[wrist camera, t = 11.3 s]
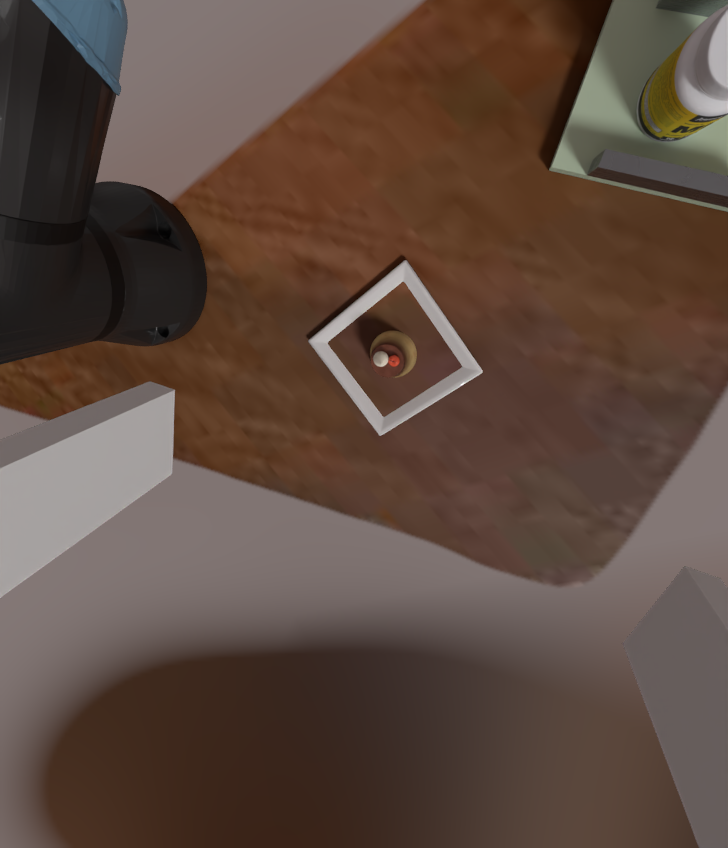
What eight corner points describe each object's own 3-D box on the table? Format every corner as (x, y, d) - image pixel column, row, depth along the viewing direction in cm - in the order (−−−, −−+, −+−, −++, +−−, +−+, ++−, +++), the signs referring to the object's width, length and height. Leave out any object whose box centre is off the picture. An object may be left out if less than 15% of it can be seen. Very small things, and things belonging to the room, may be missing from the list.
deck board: (548, 170, 30) (551, 166, 29) (632, -53, 25) (639, -67, 24) (748, 216, 28) (759, 214, 27) (884, -14, 23) (904, -28, 22)
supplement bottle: (648, 160, 27) (712, 124, 20) (623, 89, 26) (682, 23, 19) (732, 111, 26) (839, 51, 18) (709, 32, 24) (812, -66, 17)
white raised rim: (483, 369, 37) (484, 383, 33) (382, 432, 42) (371, 451, 38) (407, 259, 35) (398, 259, 31) (311, 338, 40) (291, 348, 36)
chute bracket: (586, 175, 29) (597, 167, 26) (664, -14, 24) (688, -48, 22) (735, 209, 27) (764, 204, 25) (846, 16, 23) (895, -16, 20)
